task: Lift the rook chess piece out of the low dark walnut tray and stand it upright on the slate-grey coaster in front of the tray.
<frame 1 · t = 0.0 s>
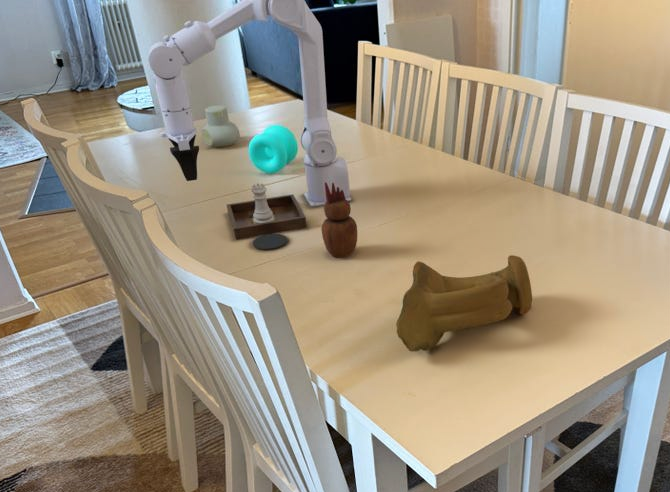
hand: (190, 173, 145), 10 cm above the table, tool pointing down, fingers open, 7 cm apart
wooden figurine: (341, 254, 135), on the table
brown lumpy piece: (463, 329, 111), on the table
tray: (266, 221, 149), on the table
coaster: (270, 242, 140), on the table
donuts: (276, 169, 176), on the table
rook chess piece: (264, 221, 149), resting in tray
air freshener: (222, 145, 193), on the table
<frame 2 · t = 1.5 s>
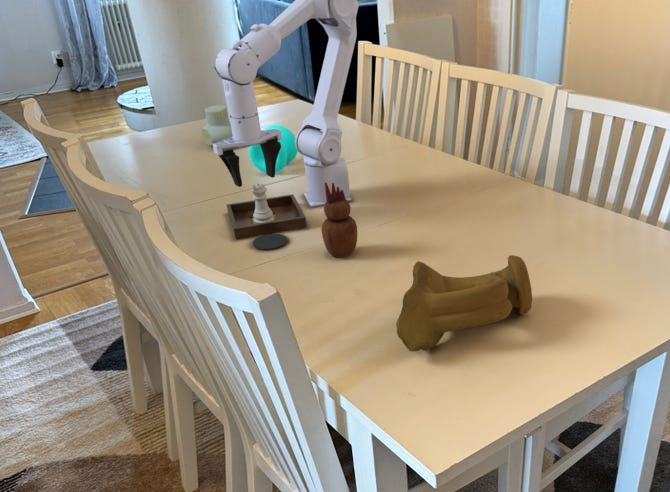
hand: (255, 180, 144), 9 cm above the table, tool pointing down, fingers open, 7 cm apart
nothing on the table moved.
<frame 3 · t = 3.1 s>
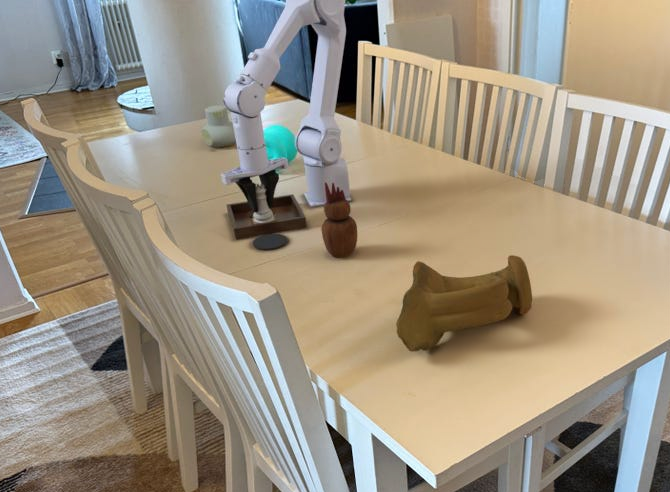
hand: (262, 208, 147), 3 cm above the table, tool pointing down, fingers closed on rook chess piece, 3 cm apart
rook chess piece: (264, 221, 149), resting in tray, touching gripper
everything else where it was.
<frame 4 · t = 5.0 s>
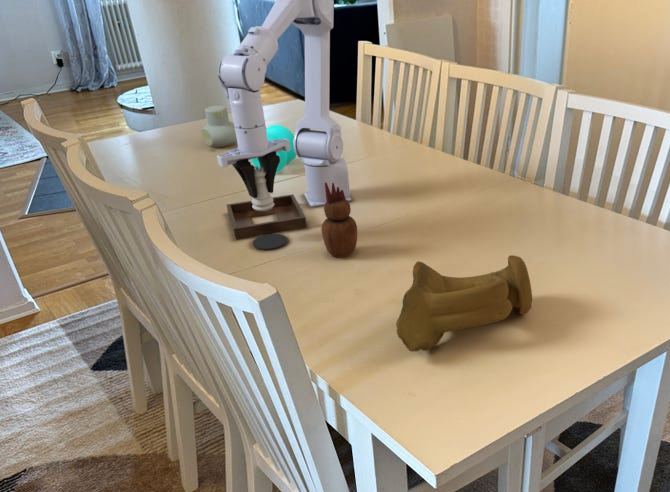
hand: (261, 193, 135), 10 cm above the table, tool pointing down, fingers closed on rook chess piece, 3 cm apart
rook chess piece: (263, 208, 137), point 7 cm above the table, touching gripper
everything else where it was.
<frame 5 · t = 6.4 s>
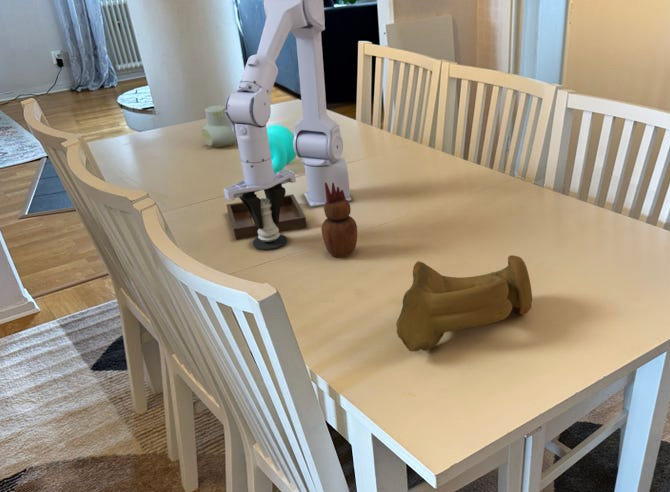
hand: (267, 224, 137), 4 cm above the table, tool pointing down, fingers closed on rook chess piece, 3 cm apart
rook chess piece: (269, 238, 139), point 1 cm above the table, touching gripper
everything else where it was.
when the fingers open (3 cm above the table, at t = 6.9 s): rook chess piece stays where it is, resting on coaster.
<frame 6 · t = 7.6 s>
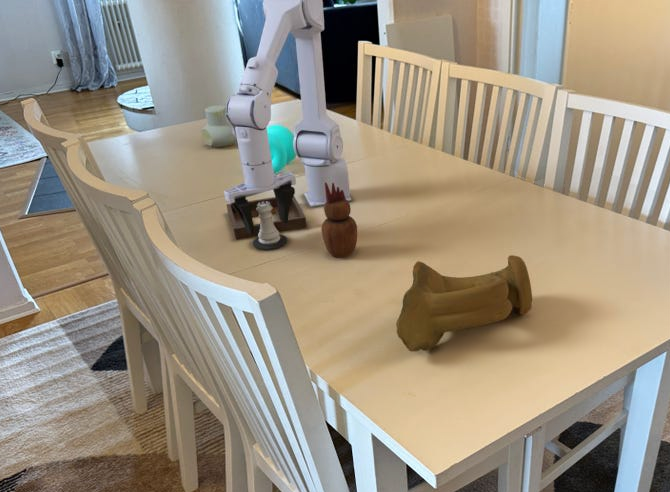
hand: (267, 226, 138), 4 cm above the table, tool pointing down, fingers open, 7 cm apart
rook chess piece: (270, 241, 140), resting on coaster
everything else where it was.
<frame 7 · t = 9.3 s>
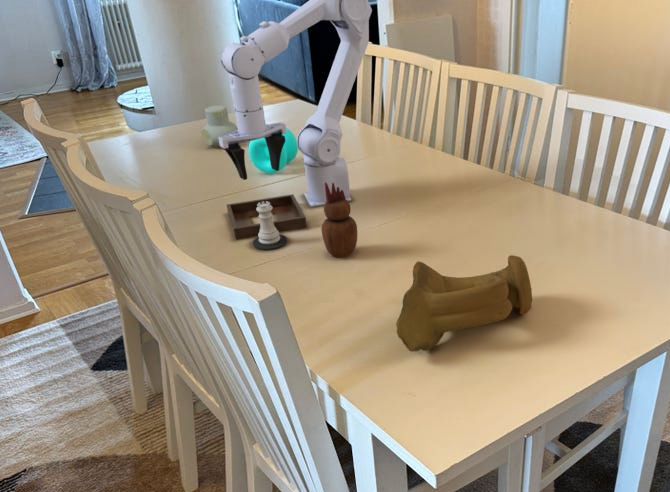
hand: (259, 173, 146), 9 cm above the table, tool pointing down, fingers open, 7 cm apart
nothing on the table moved.
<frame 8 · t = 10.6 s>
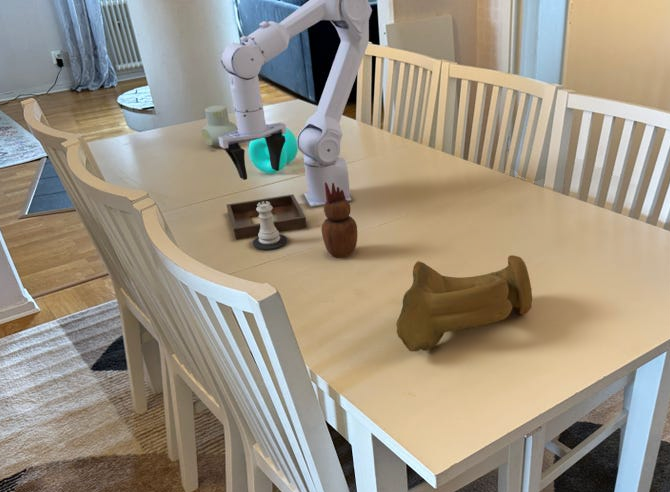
hand: (259, 173, 146), 9 cm above the table, tool pointing down, fingers open, 7 cm apart
nothing on the table moved.
at the end: rook chess piece 0.0 cm from the coaster (horizontally); rook chess piece tilted 0°; rook chess piece touching coaster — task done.
